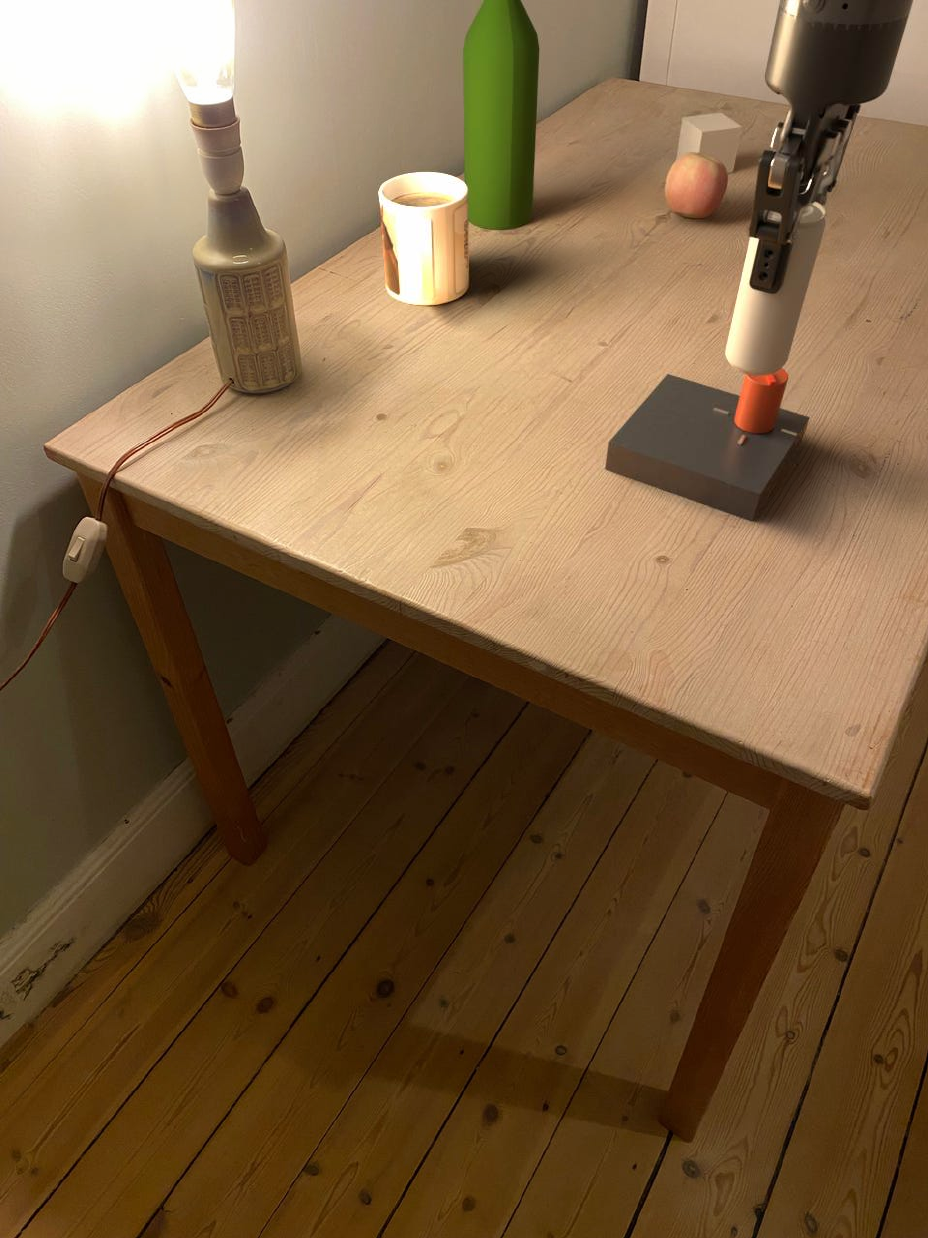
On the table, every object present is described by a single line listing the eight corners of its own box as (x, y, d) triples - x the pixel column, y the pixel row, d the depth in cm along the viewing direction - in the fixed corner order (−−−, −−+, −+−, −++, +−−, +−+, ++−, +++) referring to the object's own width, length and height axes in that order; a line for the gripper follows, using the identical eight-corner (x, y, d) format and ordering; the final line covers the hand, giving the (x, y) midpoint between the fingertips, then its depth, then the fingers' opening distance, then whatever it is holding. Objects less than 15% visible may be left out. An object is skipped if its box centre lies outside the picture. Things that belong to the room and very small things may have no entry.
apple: (725, 231, 116) (738, 166, 110) (664, 231, 116) (674, 166, 111) (714, 205, 122) (726, 141, 116) (657, 205, 122) (666, 141, 116)
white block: (694, 177, 128) (702, 131, 124) (675, 161, 132) (682, 116, 128) (733, 172, 129) (741, 126, 125) (713, 156, 133) (721, 111, 129)
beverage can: (711, 354, 73) (743, 202, 64) (760, 340, 74) (798, 189, 66) (748, 384, 70) (787, 229, 61) (799, 369, 71) (843, 215, 63)
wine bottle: (546, 214, 120) (563, -96, 97) (501, 236, 116) (507, -82, 92) (496, 195, 125) (500, -105, 101) (450, 216, 120) (444, -93, 96)
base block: (802, 441, 86) (811, 413, 83) (752, 521, 78) (760, 492, 76) (664, 398, 91) (669, 370, 89) (604, 468, 83) (608, 440, 81)
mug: (490, 281, 108) (491, 184, 100) (431, 324, 101) (427, 225, 93) (418, 258, 112) (413, 164, 104) (357, 299, 105) (347, 201, 97)
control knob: (730, 411, 84) (742, 360, 80) (768, 410, 84) (782, 358, 80) (739, 434, 81) (752, 382, 78) (779, 433, 81) (794, 381, 78)
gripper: (876, 40, 49) (795, 330, 61) (938, -18, 57) (856, 248, 70) (742, 21, 52) (691, 302, 64) (819, -32, 60) (761, 226, 72)
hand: (777, 273), depth 67 cm, fingers closed on beverage can, 5 cm apart
